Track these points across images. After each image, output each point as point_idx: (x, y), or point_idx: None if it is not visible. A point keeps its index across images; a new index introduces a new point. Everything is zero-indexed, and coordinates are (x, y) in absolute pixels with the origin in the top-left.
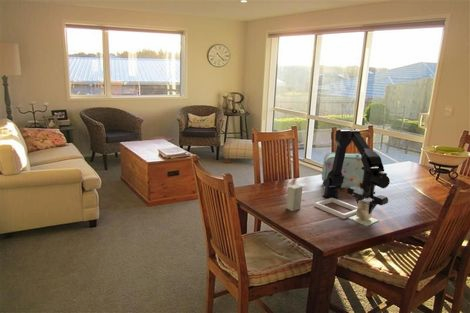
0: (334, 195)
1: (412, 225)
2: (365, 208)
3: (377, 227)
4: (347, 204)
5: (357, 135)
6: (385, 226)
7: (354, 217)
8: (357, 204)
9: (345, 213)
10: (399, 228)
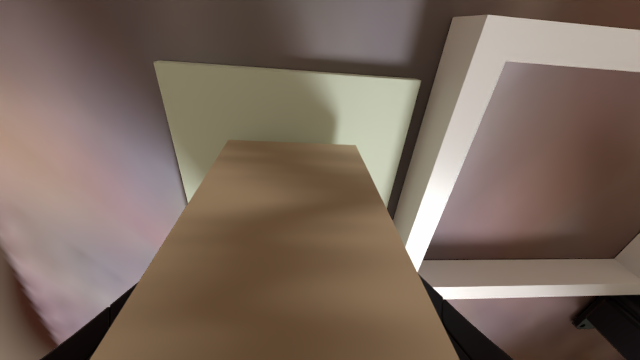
0: (637, 322)
1: (60, 342)
2: (201, 250)
3: (90, 134)
4: (512, 284)
5: None
6: (92, 212)
7: (370, 140)
8: (429, 286)
9: (489, 83)
10: (24, 262)
